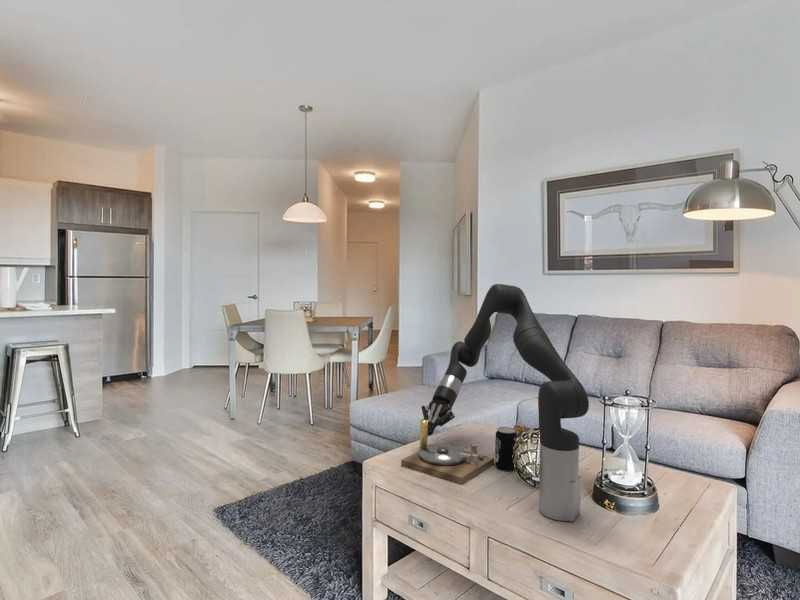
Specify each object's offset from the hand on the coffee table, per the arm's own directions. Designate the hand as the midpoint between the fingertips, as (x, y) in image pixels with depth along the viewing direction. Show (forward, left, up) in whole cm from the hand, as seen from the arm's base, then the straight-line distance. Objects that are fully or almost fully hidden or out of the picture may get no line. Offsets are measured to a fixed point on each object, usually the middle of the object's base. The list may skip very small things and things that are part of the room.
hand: (427, 434), depth 155 cm
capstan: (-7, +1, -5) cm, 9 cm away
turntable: (-9, +1, -8) cm, 12 cm away
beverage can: (-24, -9, -8) cm, 27 cm away
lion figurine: (-25, -28, -8) cm, 39 cm away
